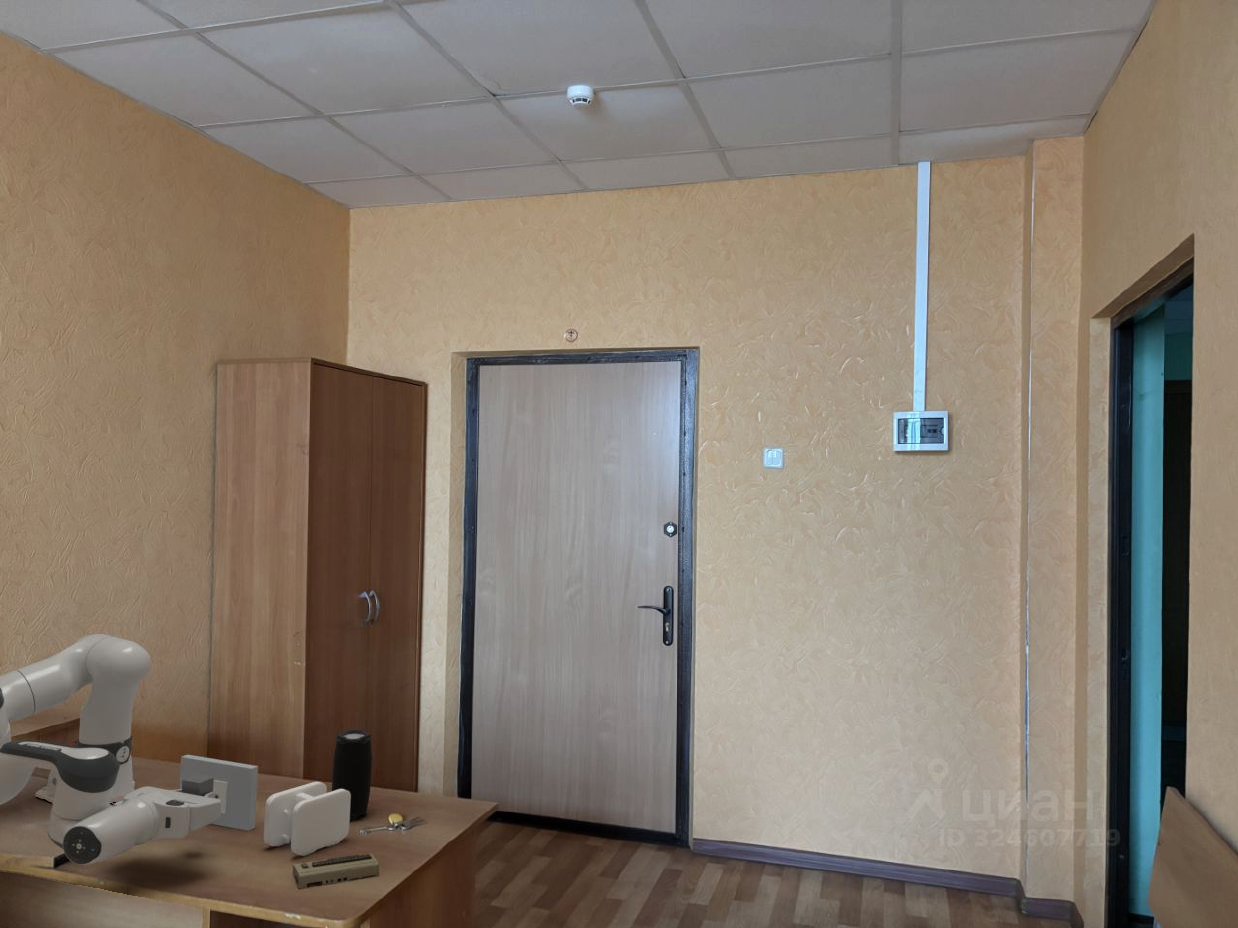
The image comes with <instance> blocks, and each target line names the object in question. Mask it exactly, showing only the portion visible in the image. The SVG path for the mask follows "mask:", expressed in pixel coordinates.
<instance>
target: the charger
mask: <svg viewBox="0 0 1238 928" xmlns="http://www.w3.org/2000/svg"><path fill="white" fill-rule="evenodd" d="M213 782H214V777H209V776H203V775H198V774H196V775H194V776H191V777H189V778H186V779H184V780H182V793H188V794H193V795H198V796H203V793H206V792H213Z"/></svg>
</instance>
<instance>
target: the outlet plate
mask: <svg viewBox="0 0 1238 928" xmlns="http://www.w3.org/2000/svg"><path fill="white" fill-rule="evenodd" d="M196 774H198V775H203V776H209V777H214V782H213V792H214V793H215V797H214V798H215V799H220V800H221V814H220V817H219V818H218V819H217V820H216V821H214V822H212V823H210V824H209V825H215V826H221V827H226V828H230V829H237V830H241V831H246V832H249V831H252V830H253V829H255V828H256V816H257V815H256V811H257V798H258V797H257V796H258V775H259V766H258V765H255V764H254V765H252V764H246V763H241V762H234V761H229V760H221V759H218V758H217V759H216V758H210V757H205V756H199V755H192V754H185V755H182V756H181V757H180V770H179V788H178V789H182V780H184V779H186V778H189V777H191V776H194V775H196Z"/></svg>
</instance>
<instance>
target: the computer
mask: <svg viewBox="0 0 1238 928" xmlns="http://www.w3.org/2000/svg"><path fill="white" fill-rule="evenodd" d="M379 870H380V866H379V861H378V859H376V858H375V856H374V855H373V853H370V852H369V853H365V854H354V855H347V856H340V857H333V858H332V857H331V858H328V859H323V860H316V861H309V862H301V863H294V864H293V865H292V876H293V878H294V880H295V883H296V885H298V886H297V889H298V890H300V889H304V887H307V888H308V886H307V885H309V886H313V885H321V886H323V885H329V884H337V883H344V881H345V882H350V881H351V880H352V881H354V880H361V879H362V878H363V879H366V878H367V879H368V878H372V877H379V874H380V873H379ZM299 888H300V889H299Z"/></svg>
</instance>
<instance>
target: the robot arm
mask: <svg viewBox="0 0 1238 928" xmlns="http://www.w3.org/2000/svg"><path fill="white" fill-rule="evenodd" d="M151 667H152V660H151V655H150V654H149V652H148V651H147V650H146V649H145V648H144V647H143V646H141V645H140V644H138V643H137V642H135V641H134V640H128V639H125V638H122V637H118V636H112V635H109V634H105V633H93V634H88V635H84V636H82V637H80V638H78V639H77V640H76V641H75V642H74V643H73V644H72V645H70V646H68V647H66V648H65V649H62V650H61V651H60V652H58V653H55V654H54V655H52V656H50V657H47V658H45V659H42V660H39V661H37V662H33V663H31V664H28V665H25V666H22V667H20V668H18V669H15V670H13V671H9V672H7V673H5V674H1V675H0V805H3V804H5V803H7V802H9V801H10V800H12V799H13V798H15V797H16V796H18V795H19V793H20V792H22V790H23V789H24V788H25V787H26V785H27V784H28V782H29V781H30V779H31V776H32V775H33V772H34V771H35V770H36V768H39V769H45V770H50V771H49V774H48V777H47V778H48V780H47V785H46V786H43V787H42V788H40V789H39V790H37V791H36V792H35V794H34V797H35V796H41V797H44V798H47V799H50V800H53V803H52V806H51V810H50V815H49V821H48V826H47V836H48V837H49V839H50V840H51V841H52V842H53V843H54V844H55V845H56V846H58V847H59V848H60V849H62V850H63V852H64V854H65V856H66V858H67V859H68V860H69V861H70V862H72V863H73V864H76V865H80V866H87V865H93V864H97V863H100V862H103V861H107V860H109V859H112V858H114V857H117V856H119V855H121V854H124V853H125V852H127V851H129V850H130V849H131V848H132V847H134V846H139V845H142V844H145V843H147V842H149V841H150V842H154V841H159V840H179V839H181V840H182V839H185V838H186V837H188V835H189V832H194V831H197V830H200V829H202V828H204V827H206V826H208V825H211V824H210V823H212V822H214V821H216V820H217V819H218V818H219V817H220V814H221V800H220V799H215V798H214V797H215V793H214V792H206V793H203V796H198V795H193V794H188V793H182V789H179V788H178V789H172V790H171V789H164V788H159V787H154V786H150V785H149V786H142V787H140V788H136V789H135V786H136V782H135V781H136V780H134V777H133V775H134V774H133V759H132V755H131V753H132V751H133V744H134V741H133V735H132V722H133V721H132V718H133V708H134V702H135V699H136V695H137V692H138V690H139V686H140V684H141V682H142V681H143V680H144V679H146V677H147V676H148V674H149V672H150V671H151V670H150V669H151ZM91 684H92V685H91ZM88 685H91V688H90V692H89V694H88V698H87V701H86V702H85V703H84V704H83V705H82V706H81V709H80V716H79V717H80V718H79V732H78V733H79V734H78V736H79V737H78V740H74V741H72V742H69V744H70V745H69V744H63V743H58V742H57V743H56V742H52V741H45V740H44V741H43V740H38V739H28V738H27V739H17V740H12V736H11V733H12V732H11V727H10V726H11V725H10V723H14V722H17V721H20V720H24V719H25V718H28V717H31V716H34V715H36V714H38V713H41V712H44V711H46V710H49V709H51V708H53V707H55V706H58V705H61V704H63V703H65V702H68V701H69V700H70V699H71V698H72V696H73V695H74V694H75V693H77V692H79V691H80V690H81V689H83V688H85V687H87V686H88ZM124 795H125V796H124ZM118 796H124V797H123V800H122V801H119V802H116V803H113V805H112V804H110V803H111V799H112V798H116V797H118Z"/></svg>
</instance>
